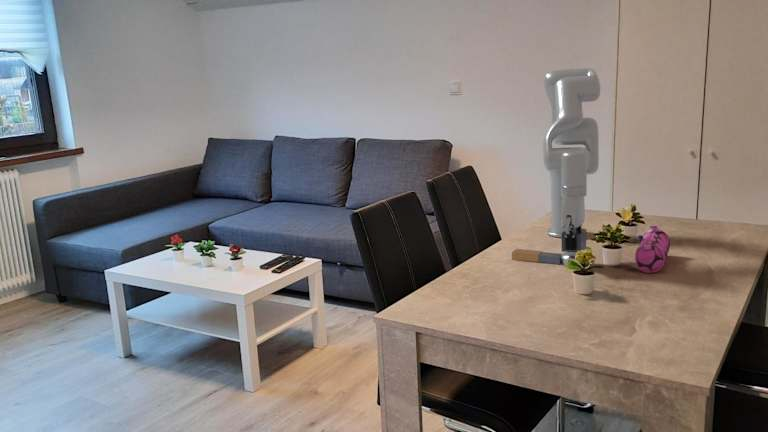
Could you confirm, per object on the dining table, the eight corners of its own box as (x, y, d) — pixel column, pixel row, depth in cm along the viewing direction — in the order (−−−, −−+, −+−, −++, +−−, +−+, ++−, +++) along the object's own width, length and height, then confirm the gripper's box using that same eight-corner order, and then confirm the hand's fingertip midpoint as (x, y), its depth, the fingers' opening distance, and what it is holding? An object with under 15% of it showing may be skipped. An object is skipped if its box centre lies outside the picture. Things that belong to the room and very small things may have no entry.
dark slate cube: (567, 246, 212) (567, 228, 211) (586, 248, 209) (586, 229, 207) (561, 251, 207) (561, 232, 206) (580, 253, 204) (580, 234, 203)
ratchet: (510, 261, 217) (509, 240, 215) (518, 254, 223) (518, 234, 221) (582, 268, 204) (583, 247, 203) (589, 262, 210) (589, 240, 209)
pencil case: (637, 253, 216) (638, 224, 214) (669, 255, 212) (670, 225, 210) (632, 273, 197) (632, 241, 195) (667, 275, 193) (668, 243, 191)
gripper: (570, 185, 213) (570, 239, 217) (552, 195, 199) (553, 253, 203) (593, 186, 209) (593, 241, 213) (577, 196, 195) (577, 255, 199)
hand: (573, 246), depth 208 cm, fingers closed on dark slate cube, 6 cm apart
